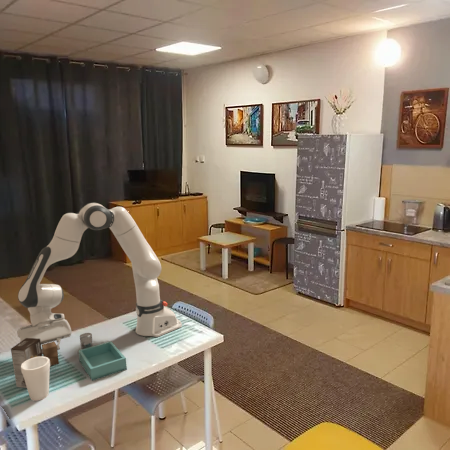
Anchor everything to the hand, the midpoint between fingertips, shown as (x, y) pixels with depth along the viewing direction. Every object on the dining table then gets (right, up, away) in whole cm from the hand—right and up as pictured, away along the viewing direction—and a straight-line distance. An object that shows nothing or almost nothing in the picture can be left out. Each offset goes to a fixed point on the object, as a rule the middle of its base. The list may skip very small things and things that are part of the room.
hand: (50, 351), depth 175 cm
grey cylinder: (+13, -3, +9) cm, 16 cm away
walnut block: (0, -5, +1) cm, 5 cm away
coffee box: (-2, -8, -13) cm, 15 cm away
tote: (+23, -5, -3) cm, 23 cm away
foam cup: (+5, -9, -22) cm, 24 cm away
